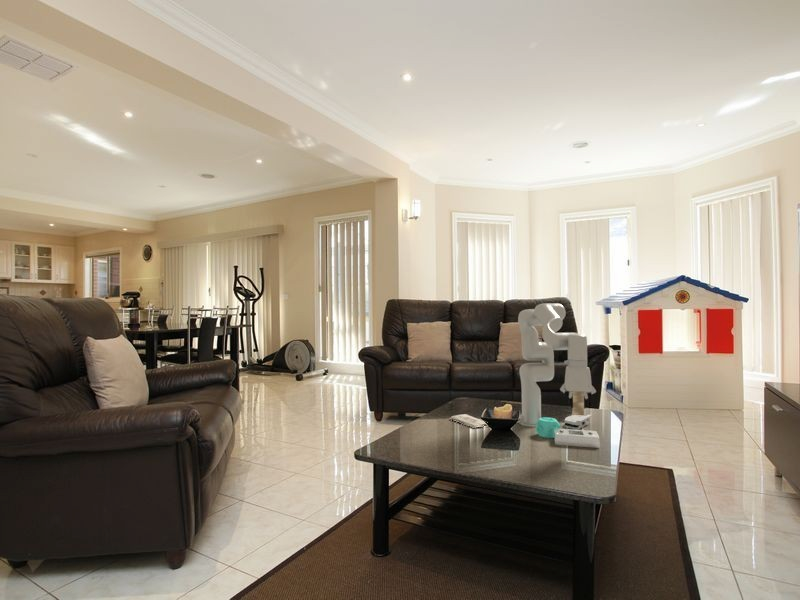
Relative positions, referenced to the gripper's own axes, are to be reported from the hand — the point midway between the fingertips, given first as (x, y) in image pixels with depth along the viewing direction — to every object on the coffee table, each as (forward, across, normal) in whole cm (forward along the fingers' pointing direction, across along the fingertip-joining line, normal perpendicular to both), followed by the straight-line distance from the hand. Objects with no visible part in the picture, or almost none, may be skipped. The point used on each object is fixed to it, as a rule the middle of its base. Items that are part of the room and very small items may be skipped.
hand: (578, 407), depth 184 cm
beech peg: (+3, 0, 0) cm, 3 cm away
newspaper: (+20, -50, +34) cm, 64 cm away
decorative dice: (+20, -12, +21) cm, 31 cm away
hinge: (+17, +8, +42) cm, 46 cm away
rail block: (+19, 0, +12) cm, 23 cm away
